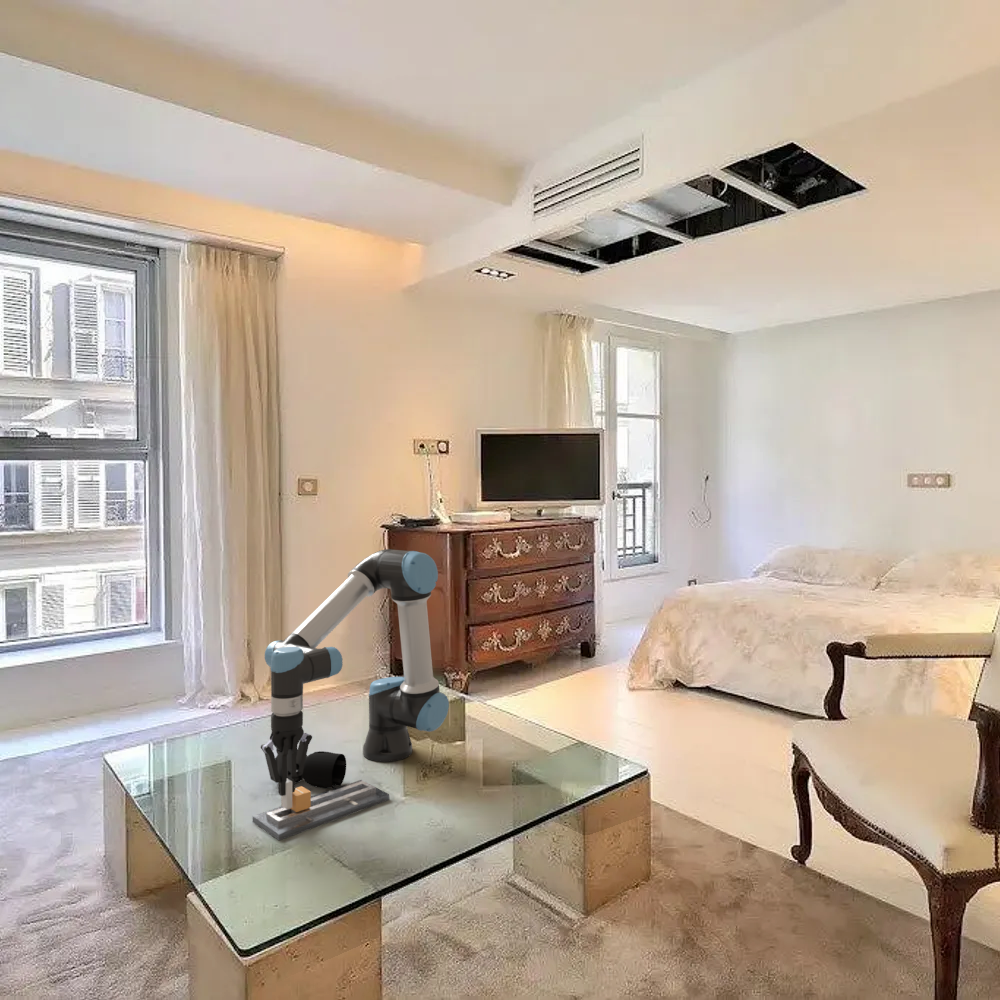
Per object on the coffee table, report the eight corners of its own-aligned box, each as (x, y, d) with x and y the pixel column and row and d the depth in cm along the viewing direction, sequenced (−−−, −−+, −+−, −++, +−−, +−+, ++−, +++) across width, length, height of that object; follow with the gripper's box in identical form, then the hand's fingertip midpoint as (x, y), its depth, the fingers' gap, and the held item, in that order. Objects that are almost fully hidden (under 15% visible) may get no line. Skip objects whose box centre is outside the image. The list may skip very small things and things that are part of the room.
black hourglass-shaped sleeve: (351, 756, 209) (287, 749, 214) (339, 751, 201) (273, 744, 206) (344, 791, 205) (279, 783, 209) (331, 787, 197) (264, 779, 201)
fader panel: (278, 840, 173) (278, 828, 173) (252, 822, 182) (252, 810, 182) (389, 799, 195) (389, 789, 195) (360, 785, 204) (360, 775, 204)
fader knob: (296, 817, 181) (296, 795, 180) (287, 811, 184) (287, 790, 184) (310, 812, 183) (310, 791, 183) (301, 806, 186) (301, 785, 186)
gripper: (269, 721, 173) (269, 820, 174) (318, 709, 182) (318, 803, 183) (254, 713, 178) (254, 809, 179) (302, 702, 188) (302, 794, 188)
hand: (286, 806), depth 181 cm, fingers closed
